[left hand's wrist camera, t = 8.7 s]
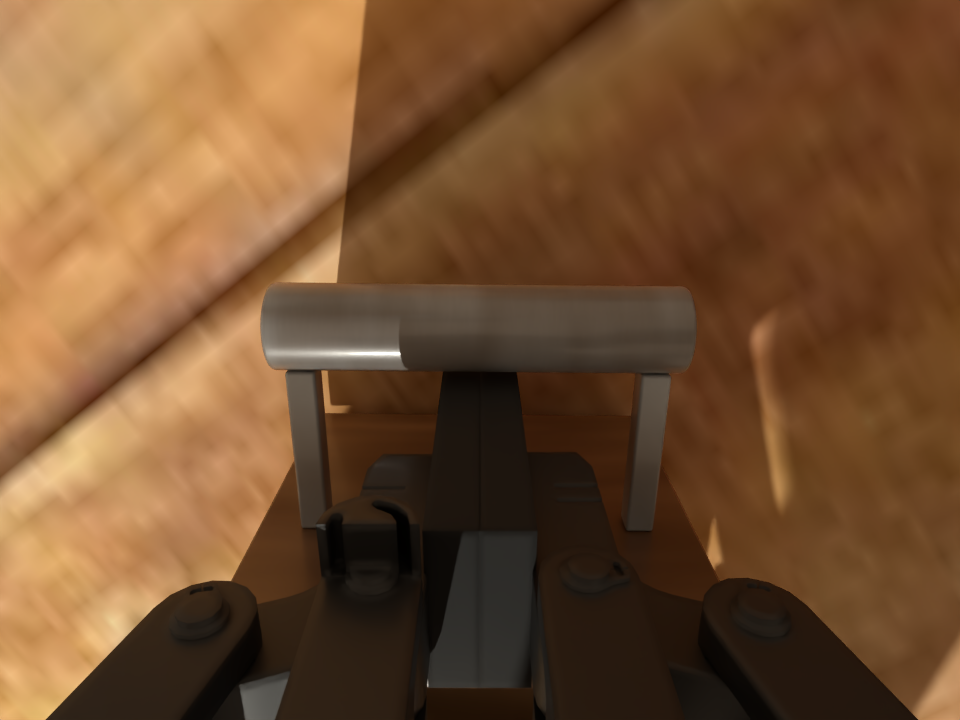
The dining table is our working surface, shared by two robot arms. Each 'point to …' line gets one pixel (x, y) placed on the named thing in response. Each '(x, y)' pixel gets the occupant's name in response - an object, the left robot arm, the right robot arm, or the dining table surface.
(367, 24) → the dining table surface
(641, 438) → the drawer
